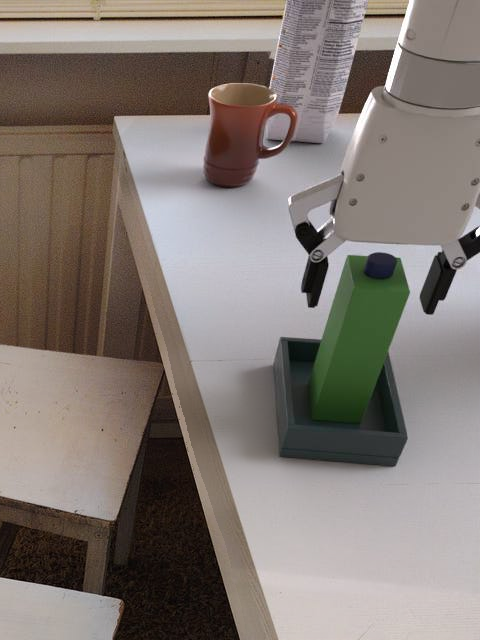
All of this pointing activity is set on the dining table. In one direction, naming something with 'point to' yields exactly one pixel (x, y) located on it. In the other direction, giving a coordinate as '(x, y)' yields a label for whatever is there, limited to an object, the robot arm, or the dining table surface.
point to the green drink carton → (357, 336)
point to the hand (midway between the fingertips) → (367, 303)
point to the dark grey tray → (329, 436)
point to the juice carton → (314, 65)
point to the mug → (241, 132)
